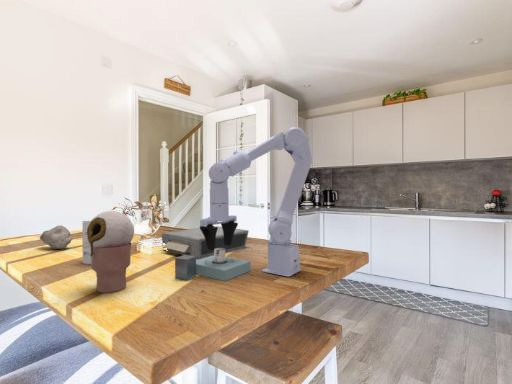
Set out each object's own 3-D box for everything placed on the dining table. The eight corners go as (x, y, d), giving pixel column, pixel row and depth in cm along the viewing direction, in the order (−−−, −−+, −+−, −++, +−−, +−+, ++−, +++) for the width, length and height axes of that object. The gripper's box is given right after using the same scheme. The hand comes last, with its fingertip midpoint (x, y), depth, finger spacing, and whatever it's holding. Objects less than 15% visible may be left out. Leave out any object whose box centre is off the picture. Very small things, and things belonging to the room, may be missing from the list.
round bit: (227, 271, 90) (227, 249, 90) (219, 274, 87) (219, 250, 87) (219, 269, 92) (219, 247, 92) (211, 271, 90) (211, 249, 90)
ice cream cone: (77, 295, 70) (76, 212, 70) (103, 281, 81) (102, 209, 80) (121, 296, 69) (120, 213, 69) (141, 281, 80) (140, 209, 80)
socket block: (250, 270, 91) (250, 261, 91) (225, 281, 81) (225, 270, 81) (214, 263, 99) (214, 255, 99) (188, 272, 89) (187, 262, 89)
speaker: (193, 262, 103) (249, 248, 126) (192, 240, 103) (249, 229, 126) (156, 252, 118) (212, 241, 141) (156, 233, 118) (212, 225, 141)
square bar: (196, 276, 85) (196, 256, 85) (187, 280, 81) (186, 259, 81) (184, 274, 87) (184, 254, 87) (175, 278, 83) (175, 258, 83)
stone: (59, 245, 131) (59, 223, 131) (76, 248, 124) (76, 225, 124) (36, 248, 124) (36, 225, 124) (53, 252, 117) (53, 227, 116)
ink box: (112, 262, 102) (112, 220, 101) (101, 265, 97) (100, 221, 97) (94, 260, 104) (93, 219, 104) (81, 263, 100) (81, 220, 99)
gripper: (224, 201, 98) (225, 242, 98) (192, 204, 86) (193, 249, 86) (241, 202, 94) (241, 244, 94) (210, 204, 82) (210, 252, 82)
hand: (219, 247), depth 90 cm, fingers open, 7 cm apart
